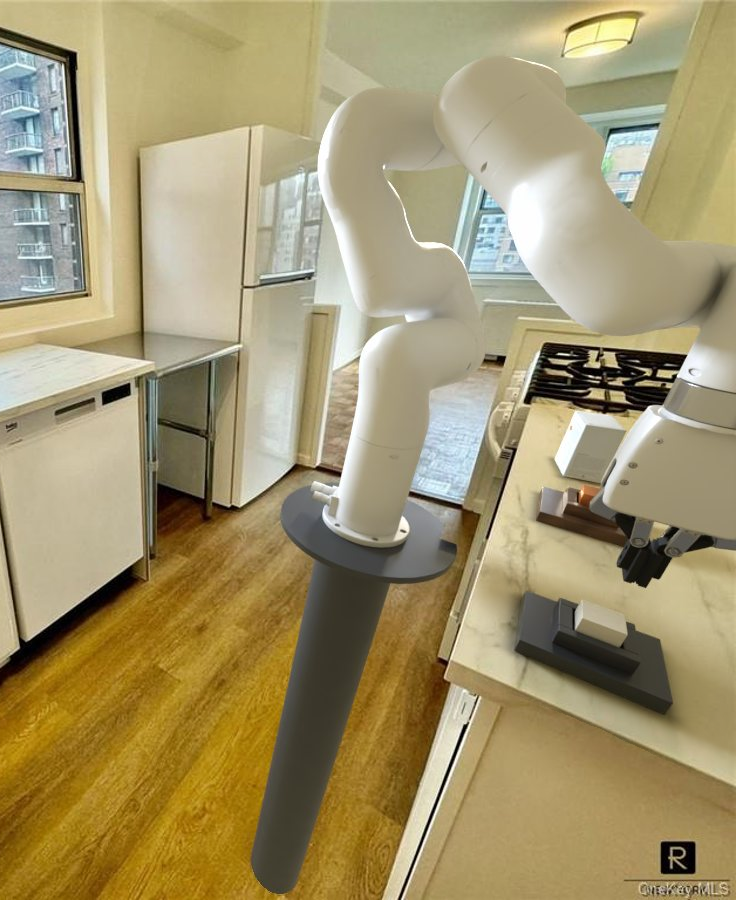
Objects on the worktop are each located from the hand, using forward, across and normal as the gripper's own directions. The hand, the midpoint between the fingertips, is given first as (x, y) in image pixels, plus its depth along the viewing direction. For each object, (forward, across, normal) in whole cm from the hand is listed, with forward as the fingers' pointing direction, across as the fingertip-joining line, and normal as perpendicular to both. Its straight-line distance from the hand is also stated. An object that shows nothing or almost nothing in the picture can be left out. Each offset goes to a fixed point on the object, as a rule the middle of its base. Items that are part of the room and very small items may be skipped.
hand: (633, 577), depth 48 cm
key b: (+8, 0, -33) cm, 34 cm away
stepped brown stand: (+11, 0, -33) cm, 35 cm away
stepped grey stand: (+11, 0, 0) cm, 11 cm away
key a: (+8, 0, 0) cm, 8 cm away
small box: (+11, +1, -53) cm, 54 cm away
